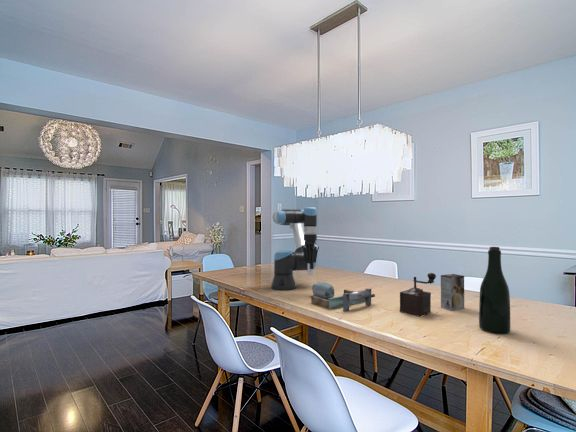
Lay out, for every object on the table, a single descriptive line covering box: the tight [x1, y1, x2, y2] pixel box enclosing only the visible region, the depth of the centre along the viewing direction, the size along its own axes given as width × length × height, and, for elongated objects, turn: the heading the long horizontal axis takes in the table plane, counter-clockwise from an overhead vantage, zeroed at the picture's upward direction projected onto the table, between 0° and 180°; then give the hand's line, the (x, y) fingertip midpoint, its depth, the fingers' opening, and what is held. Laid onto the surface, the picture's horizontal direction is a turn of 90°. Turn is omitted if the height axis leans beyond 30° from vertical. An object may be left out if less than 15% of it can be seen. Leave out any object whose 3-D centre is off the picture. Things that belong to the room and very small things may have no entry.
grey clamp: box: [342, 288, 376, 312], centre depth 159 cm, size 4×21×8 cm, turn 126°
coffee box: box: [440, 273, 465, 311], centre depth 158 cm, size 9×6×16 cm
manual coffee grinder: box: [399, 272, 437, 317], centre depth 153 cm, size 16×11×18 cm
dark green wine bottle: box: [478, 246, 511, 335], centre depth 127 cm, size 10×10×33 cm
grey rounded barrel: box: [311, 281, 335, 300], centre depth 178 cm, size 14×10×10 cm
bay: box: [310, 288, 365, 310], centre depth 169 cm, size 14×26×5 cm, turn 126°
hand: (310, 274), depth 187 cm, fingers closed
